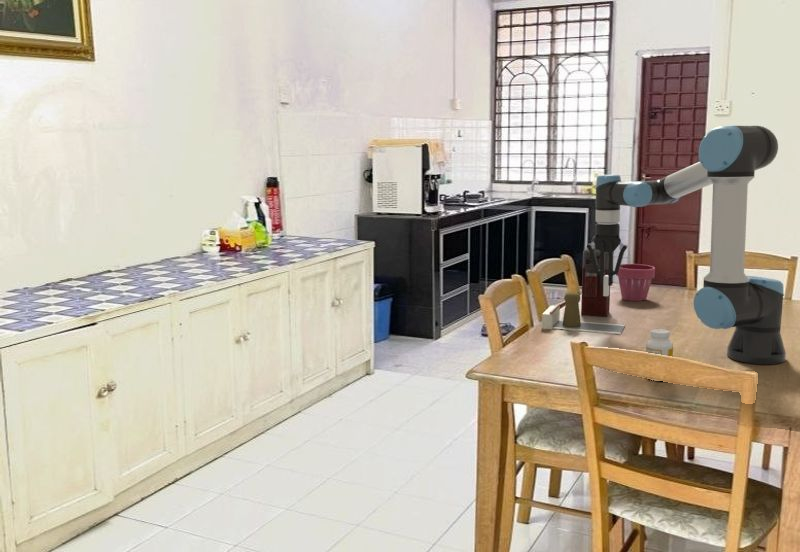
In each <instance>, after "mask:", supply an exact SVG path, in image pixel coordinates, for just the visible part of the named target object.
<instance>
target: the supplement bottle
mask: <svg viewBox="0 0 800 552" xmlns="http://www.w3.org/2000/svg"><path fill="white" fill-rule="evenodd" d="M649 335H650V337H651V338H650V339H648V340H647V341H646V344H645V353H646V352H648V353H655V354H661V355H667V356H672V357H673V358H674V343H673V342H672V340H670V339H669V338H670V335H671V332H670V330H667V329H664V328H663V329H662V328H655V329H651V330H650V334H649ZM651 382H654V381H653V380H652V381H651Z"/></svg>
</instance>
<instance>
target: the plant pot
mask: <svg viewBox="0 0 800 552" xmlns="http://www.w3.org/2000/svg"><path fill="white" fill-rule="evenodd" d="M655 273H656V267H655V266H653V265H648V264H641V263H621V266H620V269H619V273H618V274H616V276H617V277H618V283H619V289H620V295H621V299H622V300H624V301H628V300H629V302H643V301H642V300H645V301H647V299H648V298H647V297H648V295H649V291H650V287H651V284H652V280H653V279H654V278H655V275H656V274H655Z"/></svg>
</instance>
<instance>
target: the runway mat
mask: <svg viewBox="0 0 800 552" xmlns="http://www.w3.org/2000/svg"><path fill="white" fill-rule="evenodd" d="M580 322H581V326H580V327H566V326H563V325H562V324H563V319H559V320H558V322H557V323H556V324H555V325H554V326H553V327H552V329H551V330H560V329H563V331H573V332H586V333H596V334H597V333H598V334H613V335H621V334H622V332H623V330H624V329H625V327H626V325H625V324H614V323H605V322H604V323H603V322H601V323H600V322H590V321H589V322H588V321H580Z"/></svg>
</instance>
